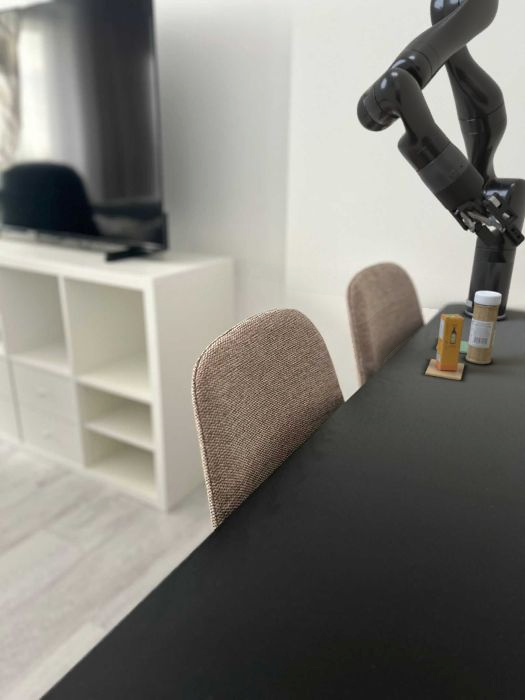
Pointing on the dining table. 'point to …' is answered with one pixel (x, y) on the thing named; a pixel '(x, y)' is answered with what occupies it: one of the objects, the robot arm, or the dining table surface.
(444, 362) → the supplement box
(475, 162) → the robot arm
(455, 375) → the oak mat
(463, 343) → the green mat
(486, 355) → the sprinkles bottle
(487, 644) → the dining table surface
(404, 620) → the dining table surface
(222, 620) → the dining table surface
